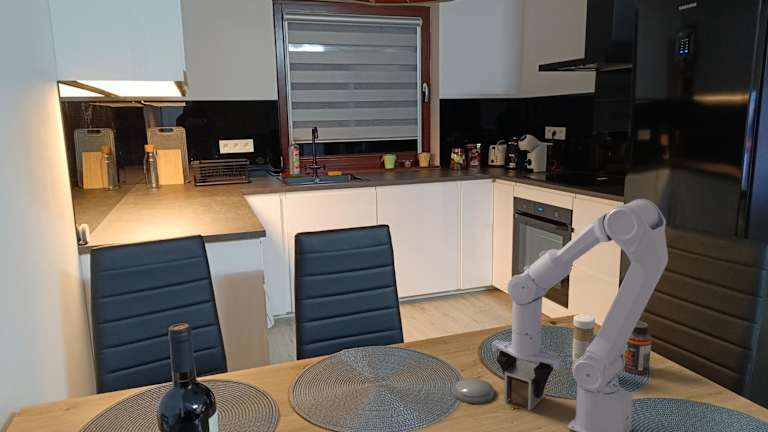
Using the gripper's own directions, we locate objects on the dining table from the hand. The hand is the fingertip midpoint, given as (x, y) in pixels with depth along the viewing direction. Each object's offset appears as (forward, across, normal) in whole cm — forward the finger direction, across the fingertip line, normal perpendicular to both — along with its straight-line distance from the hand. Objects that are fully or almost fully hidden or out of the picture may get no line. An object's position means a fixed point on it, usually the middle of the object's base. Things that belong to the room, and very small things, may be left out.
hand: (524, 391), depth 112 cm
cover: (+2, 0, 0) cm, 2 cm away
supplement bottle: (+2, -14, -28) cm, 31 cm away
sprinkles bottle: (+2, -5, -19) cm, 20 cm away
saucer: (+2, +10, +4) cm, 11 cm away
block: (+2, 0, 0) cm, 2 cm away
